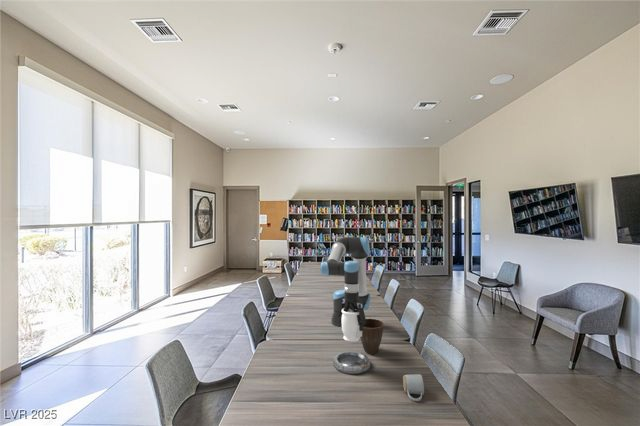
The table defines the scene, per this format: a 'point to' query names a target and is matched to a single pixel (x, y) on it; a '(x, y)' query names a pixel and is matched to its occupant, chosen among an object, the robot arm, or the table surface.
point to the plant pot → (372, 335)
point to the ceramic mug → (413, 385)
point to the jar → (350, 325)
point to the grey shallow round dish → (351, 362)
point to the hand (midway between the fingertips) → (351, 333)
